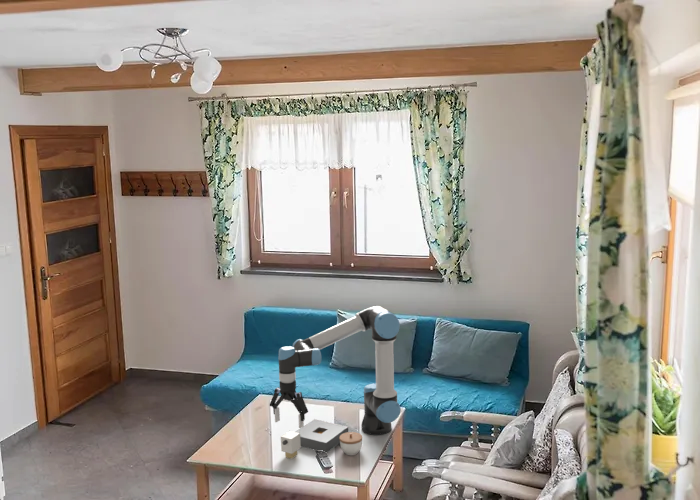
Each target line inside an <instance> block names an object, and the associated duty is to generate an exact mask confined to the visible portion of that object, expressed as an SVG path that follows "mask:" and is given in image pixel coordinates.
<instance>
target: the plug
mask: <svg viewBox="0 0 700 500" xmlns="http://www.w3.org/2000/svg"><path fill="white" fill-rule="evenodd" d="M280 448H281V449H280V450H281V452H283V453H284V454H285V455H284V456H285V458H287V459H294V458H295V457H297V455H298V450H299V449H301V448H302V447H301V443H300V433H297V432H296V431H293V430H289V431H286V432H285V433H284V434H283V435H280Z"/></svg>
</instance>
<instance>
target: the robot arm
mask: <svg viewBox="0 0 700 500" xmlns="http://www.w3.org/2000/svg"><path fill="white" fill-rule="evenodd" d="M400 327H401V326H400V321H399V319H398V317H397V315H395V314H394V313H393V312H391V310H390V311H389V310H388V309H387V308H385V307H383V306H380V305H376V306H375V305H374V306H370V307H368V308H366V309H362V310H361V311H359V312H357V313H355V315H354V316H352V317H351V318H348V319H346V320H343V321H342V322H340V323H337V324H335V325H333V326H331V327H329V328H326V329H325V330H322V331H320V332H318V333H315V334H313V335H312V336H309V337H308V338H305V339H302V338H299V339H296V340H295V341H294V342H293V343H292V346H291V345H289V346H288V345H287V346H282V347H280V348H279V349H278V358H277V359H278V376H279V377H278V381H279V387H276V388H274V393H273V396H272V398H271V401H270V402H269V407H271V408H273V415H274V422H275V423H278V422H279V421H280V420H281V416H280V415H281V414H280V407H279V406H280V404H281V403H282V402H283V401H288V402H290V403H292V405H293V406H294V407H295V409H296V410H297V412H298V413H299V414H298V429H300V428H302V427H303V426H305V425H304V421H305V419H306V414H307V413H309V409H308V407H307V405H306V402H305V400H304V398H303V393H302V391H300V392H297V391H296V390H297V381H296V379H297V375H296V371H297V370H296V369H297V368H301V367H311V366H317V365H320V364H321V363H322V352H321V350H323V349H324V348H326V347H329V346H331V345H333V344H335V343H337V342H340V341H342V340H344V339H346V338H348V337H351V336H353V335H354V334H357V333H359V332H361V331H362V332H366V331H368V330H371V340H372V341H373V342H374V344H375V351H374V352H375V353H374V355H375V383H374V382H373V383H369V384H366V385H365V386H364V388H363V403H364V404H363V408H364V415H363V418H362V421H361V427H360V428H361V431H362V432H363V433H364V434H368V435H371V436H372V435H373V436H375V435H376V436H380V435H385V434H388V433H389V432H391V431H392V422H393V423H394V422H395V421H397V418H399V417H400V415H401V406H400V403H399V402H398V392H397V390H395V368H394V366H395V365H394V364H395V363H394V357H395V356H394V354H395V353H394V342H395V341H396V340H397V339H398V338H397V334H398V333H399V331H400ZM279 395H280V396H279ZM278 397H279V398H278Z"/></svg>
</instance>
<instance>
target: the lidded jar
mask: <svg viewBox="0 0 700 500" xmlns="http://www.w3.org/2000/svg"><path fill="white" fill-rule="evenodd" d="M339 440H340V443H339V445H340V449H341V450H342V452H343V453H344V454H345V455H347V456H355V455H358V453H359V452H360V450H361V449H362V446H363V435H362V434H361V433H359V432H355V431H348V432H347V433H343V434H342V435H340V437H339Z"/></svg>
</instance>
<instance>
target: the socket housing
mask: <svg viewBox="0 0 700 500" xmlns="http://www.w3.org/2000/svg"><path fill="white" fill-rule="evenodd" d="M319 431H320V432H323V433H322V434H319V433H318V432H319ZM295 432H297V433H300V443H301V448H305V449H309V450H310V449H311V450H313V449H314V451H317V450H323V451H325V452H327V453H328V452H329V451H332V449H334V448H335V447H336V446H337V445H340V440H339V437H340V435H342V434H343V433H347V432H349V426H346V425H343V424H338V423H333V422H328V421H325V420H320V419H315V418H314V419H312V420H311V421H309V422H308V423H306V424H305V425H304V426H303V427H302V428H298V429H297V430H296V431H295ZM325 452H324V453H325Z"/></svg>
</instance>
